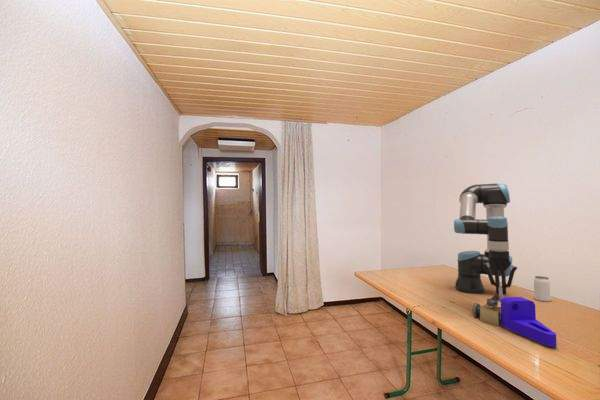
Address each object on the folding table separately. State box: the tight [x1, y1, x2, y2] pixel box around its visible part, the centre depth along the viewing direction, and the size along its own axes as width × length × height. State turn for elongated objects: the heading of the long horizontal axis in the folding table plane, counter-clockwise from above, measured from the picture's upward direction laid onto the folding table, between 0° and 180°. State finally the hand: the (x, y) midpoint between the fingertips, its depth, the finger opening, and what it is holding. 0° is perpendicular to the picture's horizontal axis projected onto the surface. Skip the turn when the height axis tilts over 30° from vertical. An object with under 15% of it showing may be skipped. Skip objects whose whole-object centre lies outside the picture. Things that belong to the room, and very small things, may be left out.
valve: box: [471, 302, 502, 327], centre depth 120 cm, size 14×7×7 cm, turn 34°
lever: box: [486, 292, 499, 307], centre depth 124 cm, size 15×4×2 cm, turn 132°
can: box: [533, 275, 551, 303], centre depth 146 cm, size 6×6×12 cm
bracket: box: [500, 296, 557, 348], centre depth 106 cm, size 18×11×12 cm, turn 1°
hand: (501, 301), depth 124 cm, fingers closed
